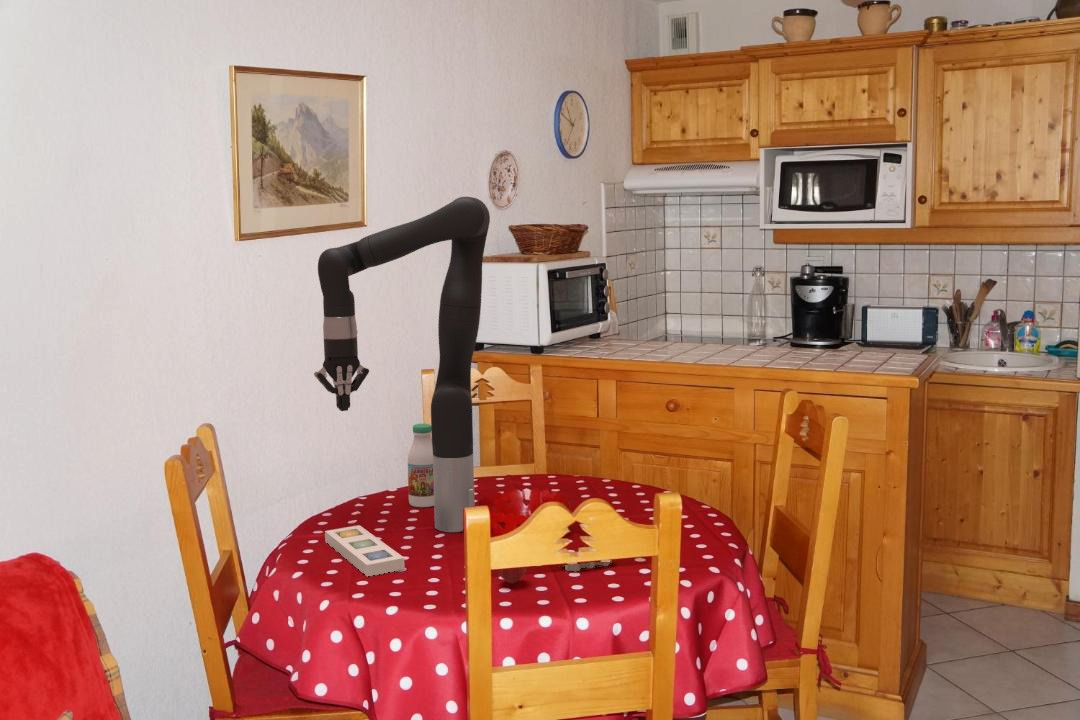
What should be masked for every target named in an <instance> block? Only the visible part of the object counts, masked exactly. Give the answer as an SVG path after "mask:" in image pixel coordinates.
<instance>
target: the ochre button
mask: <svg viewBox="0 0 1080 720" xmlns="http://www.w3.org/2000/svg"><path fill="white" fill-rule="evenodd" d="M353 536H359V533H358V531H356V530H346V531H342V532H341V533H340V537H341V538H347V537H353Z"/></svg>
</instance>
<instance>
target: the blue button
mask: <svg viewBox="0 0 1080 720" xmlns="http://www.w3.org/2000/svg"><path fill="white" fill-rule="evenodd" d="M383 558H388V557H387V553H386V552H382V551H377V552H371V553H369V554H368V559H369V560H370V561H372V560H377V559H383Z"/></svg>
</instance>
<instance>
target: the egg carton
mask: <svg viewBox="0 0 1080 720" xmlns="http://www.w3.org/2000/svg"><path fill="white" fill-rule="evenodd" d="M610 563H611V564H612V560H611V561H610V562H589V563H581V564H575V565H563V566H561V567H564V566H565V571H566V570H567V571H581V570H582V569H581V568H585V567H587V568H593V567H594V566H595V565H603V566H608V565H609V564H610ZM611 564H610V565H611ZM610 565H609V566H610ZM594 568H595V567H594ZM580 569H581V570H580ZM567 571H566V572H567Z"/></svg>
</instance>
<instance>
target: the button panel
mask: <svg viewBox="0 0 1080 720" xmlns="http://www.w3.org/2000/svg"><path fill="white" fill-rule="evenodd" d="M346 530H356V531H358V533H359V536H353V537H347V538H341V537H340V533H341V532H342V531H346ZM324 539H325V541H324V542H325V543H326V544H327V543H328V544H329V545H328V544H327V545H328V546H329V547H331V548H332V547H333V548H334V549H335V551H336V552H337V553H338V552H339V553H340V554H341V556H342V558H344V559H345V560H346V559H347V560H346V561H348V563H350V564H353V566H354V567H355V568H356V569H357V570H358V569H359V572H361V573H362V574H363V573H364V574H365V575H364V576H366V577H367V578H368V576H370V577H374V576H373V575H375V576H378V575H379V574H380V575H383V574H384V573H385V574H389V573H388V572H390V573H395V572H400V571H404V569H405V557H404V556H403V555H401V554H400V553H398V552H397V551H396V550H394V549H393V548H391V547H390V546H389V545H387V544H386V543H384V541H382V540H381V539H379V538H378V537H377V536H375V535H374V534H372V533H370V532H369V531H368V530H367V529H365V528H364V527H363V526H361V525H359V524H358V525H352V526H347V527H341V528H335V529H330V530H329V529H328V530H325V531H324ZM362 540H367V541H371V542H372V544H373V546H371V547H365V548H360V549H355V548H354V547H353V544H354V543H355V542H357V541H362ZM333 548H332V549H333ZM334 549H333V550H334ZM377 551H382V552H386V553H387V557H388V558H383V559H377V560H372V561H370V560H369V559H368V554H369V553H371V552H377ZM339 553H338V554H339ZM340 554H339V555H340ZM399 570H400V571H399ZM394 571H395V572H394ZM385 574H384V575H385Z"/></svg>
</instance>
